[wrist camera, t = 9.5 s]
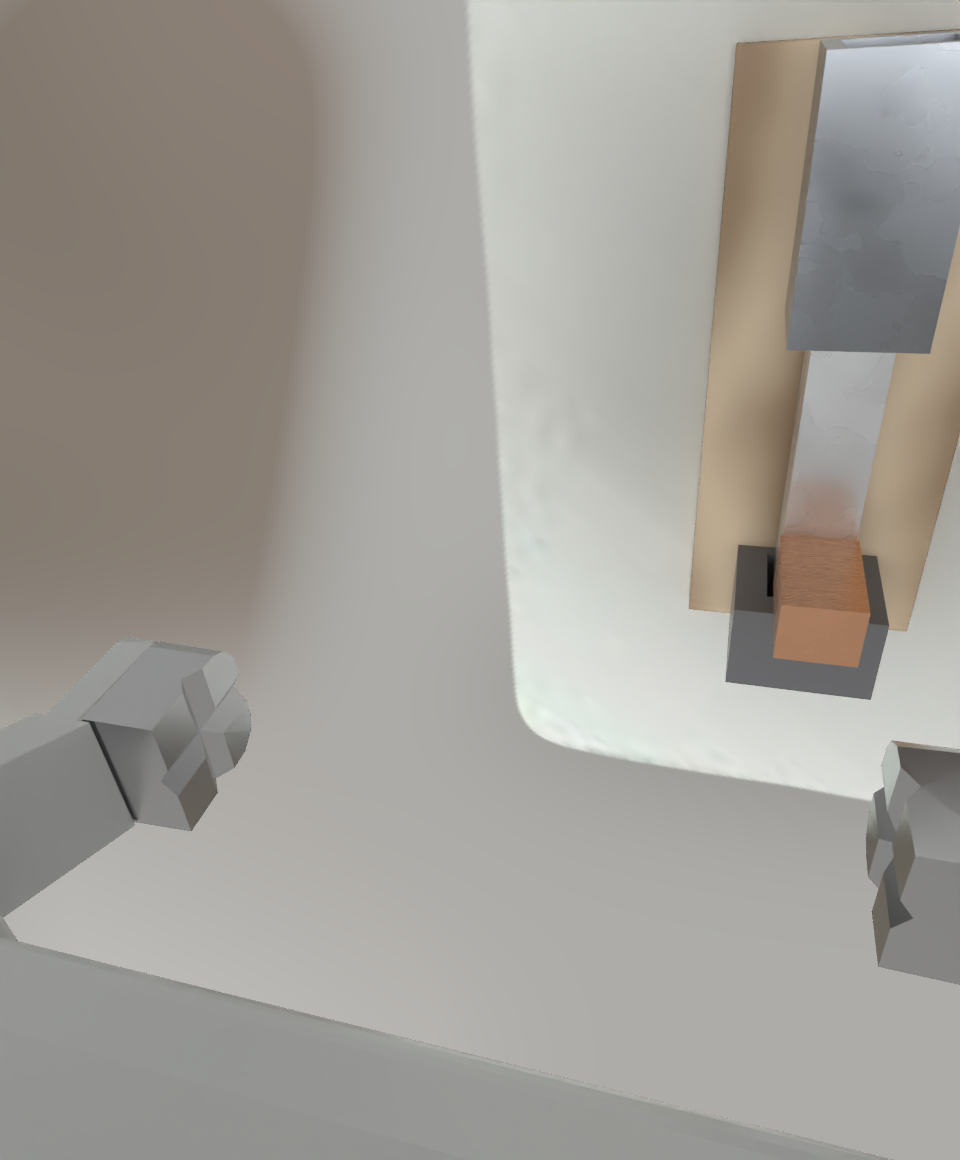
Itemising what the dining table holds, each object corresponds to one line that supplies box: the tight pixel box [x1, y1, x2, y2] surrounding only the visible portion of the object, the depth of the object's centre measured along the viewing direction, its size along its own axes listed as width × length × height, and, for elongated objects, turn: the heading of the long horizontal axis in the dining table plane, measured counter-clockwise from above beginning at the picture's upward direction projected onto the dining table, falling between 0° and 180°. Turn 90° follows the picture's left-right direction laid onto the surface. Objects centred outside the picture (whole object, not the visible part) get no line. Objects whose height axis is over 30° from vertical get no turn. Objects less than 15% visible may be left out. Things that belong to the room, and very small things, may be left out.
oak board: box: [689, 29, 960, 631], centre depth 35 cm, size 10×24×1 cm, turn 4°
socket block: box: [726, 545, 889, 700], centre depth 38 cm, size 6×4×5 cm, turn 94°
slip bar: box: [769, 351, 896, 668], centre depth 33 cm, size 3×15×8 cm, turn 4°
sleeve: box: [785, 31, 960, 354], centre depth 29 cm, size 5×9×5 cm, turn 4°
